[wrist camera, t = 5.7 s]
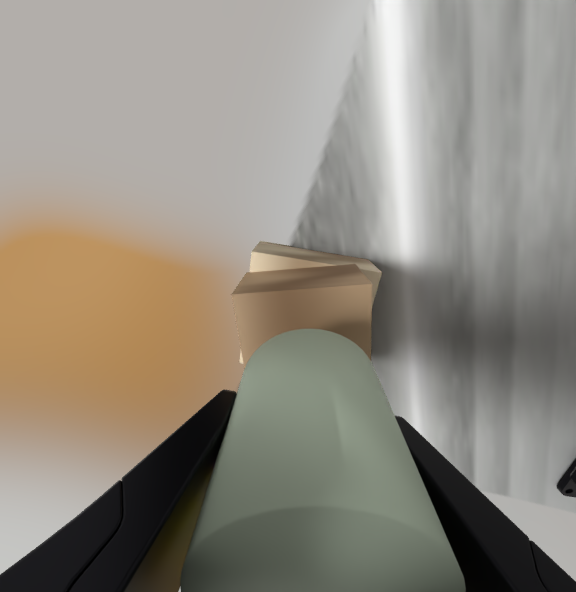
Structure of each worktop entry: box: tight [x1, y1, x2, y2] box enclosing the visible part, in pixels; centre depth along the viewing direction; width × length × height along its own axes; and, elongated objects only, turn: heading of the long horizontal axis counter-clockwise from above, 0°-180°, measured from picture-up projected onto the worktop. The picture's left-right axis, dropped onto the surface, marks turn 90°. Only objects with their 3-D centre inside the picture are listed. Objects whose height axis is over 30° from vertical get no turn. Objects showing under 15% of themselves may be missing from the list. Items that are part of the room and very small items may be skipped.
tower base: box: [240, 241, 382, 363], centre depth 15 cm, size 6×6×3 cm
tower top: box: [232, 264, 372, 370], centre depth 12 cm, size 5×5×3 cm
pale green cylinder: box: [180, 329, 466, 592], centre depth 7 cm, size 4×4×5 cm
